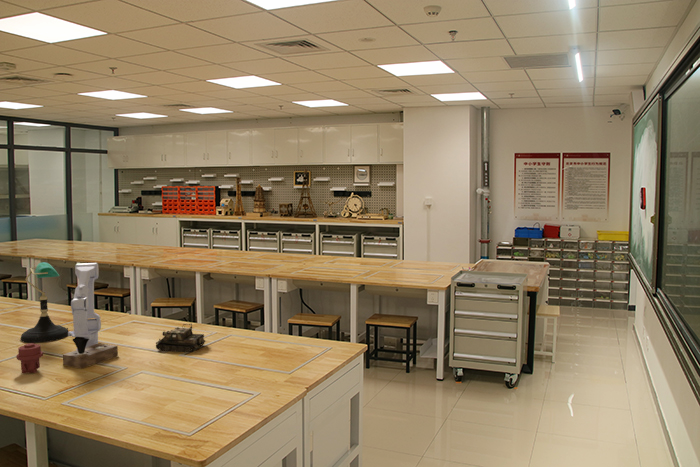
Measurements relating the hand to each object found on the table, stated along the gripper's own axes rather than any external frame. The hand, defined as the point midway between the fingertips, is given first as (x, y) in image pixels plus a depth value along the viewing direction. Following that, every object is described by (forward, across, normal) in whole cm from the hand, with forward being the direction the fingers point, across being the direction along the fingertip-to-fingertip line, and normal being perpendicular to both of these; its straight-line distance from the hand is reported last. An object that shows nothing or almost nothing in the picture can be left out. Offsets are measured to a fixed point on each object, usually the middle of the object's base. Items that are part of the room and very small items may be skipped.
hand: (81, 352), depth 240 cm
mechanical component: (+5, -11, -17) cm, 21 cm away
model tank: (+6, +25, +38) cm, 46 cm away
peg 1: (+5, 0, 0) cm, 5 cm away
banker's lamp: (+5, -57, +23) cm, 62 cm away
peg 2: (+5, 0, +10) cm, 11 cm away
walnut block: (+5, 0, +5) cm, 7 cm away
